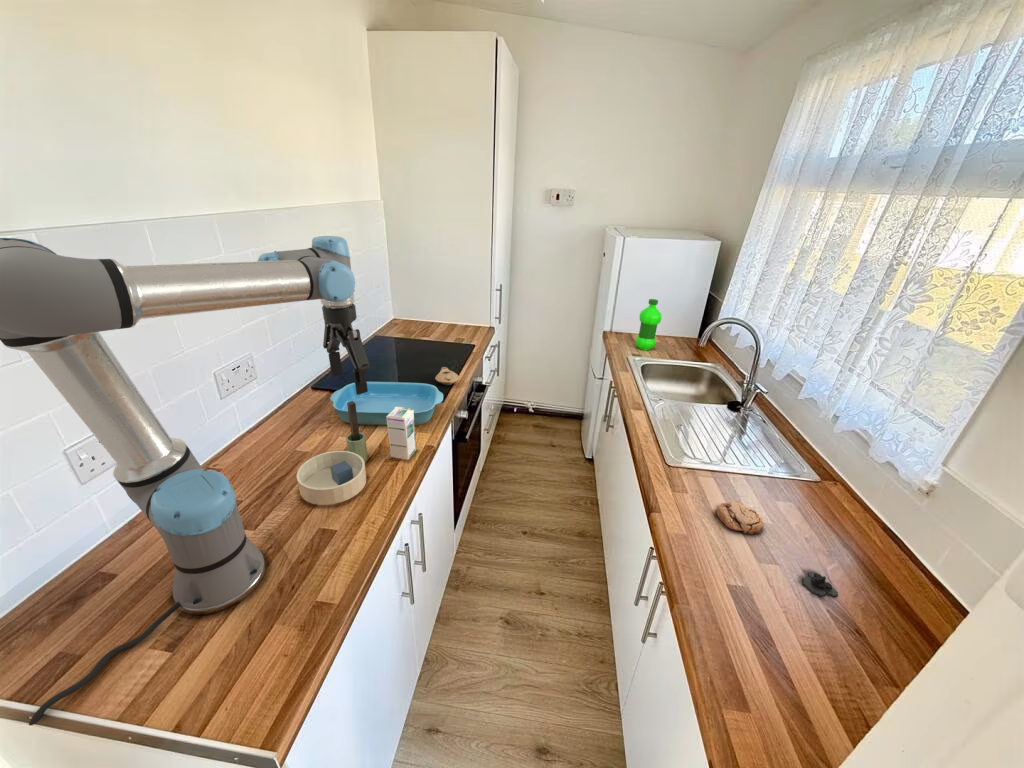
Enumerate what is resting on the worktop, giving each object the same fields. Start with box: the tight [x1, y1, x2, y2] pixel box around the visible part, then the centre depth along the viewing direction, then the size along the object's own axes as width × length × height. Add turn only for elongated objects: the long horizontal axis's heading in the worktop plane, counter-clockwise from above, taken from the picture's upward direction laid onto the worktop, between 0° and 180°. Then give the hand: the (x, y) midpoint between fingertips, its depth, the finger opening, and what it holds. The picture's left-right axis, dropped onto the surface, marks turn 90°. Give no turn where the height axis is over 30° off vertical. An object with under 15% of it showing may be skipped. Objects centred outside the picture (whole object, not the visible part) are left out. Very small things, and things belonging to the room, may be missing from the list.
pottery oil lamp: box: [434, 366, 460, 386], centre depth 171 cm, size 9×12×7 cm
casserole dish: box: [329, 381, 444, 426], centre depth 146 cm, size 37×22×7 cm, turn 94°
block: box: [330, 461, 353, 485], centre depth 113 cm, size 4×4×4 cm
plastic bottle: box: [635, 298, 663, 351], centre depth 212 cm, size 10×10×25 cm
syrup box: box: [386, 407, 417, 461], centre depth 123 cm, size 6×6×14 cm
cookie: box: [716, 500, 764, 535], centre depth 108 cm, size 10×11×3 cm
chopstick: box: [347, 401, 360, 441], centre depth 119 cm, size 2×2×18 cm
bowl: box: [296, 450, 367, 506], centre depth 112 cm, size 16×16×6 cm
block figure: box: [801, 571, 839, 598], centre depth 91 cm, size 6×2×6 cm
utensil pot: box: [345, 431, 368, 462], centre depth 121 cm, size 5×5×8 cm
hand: (349, 383), depth 112 cm, fingers open, 13 cm apart
